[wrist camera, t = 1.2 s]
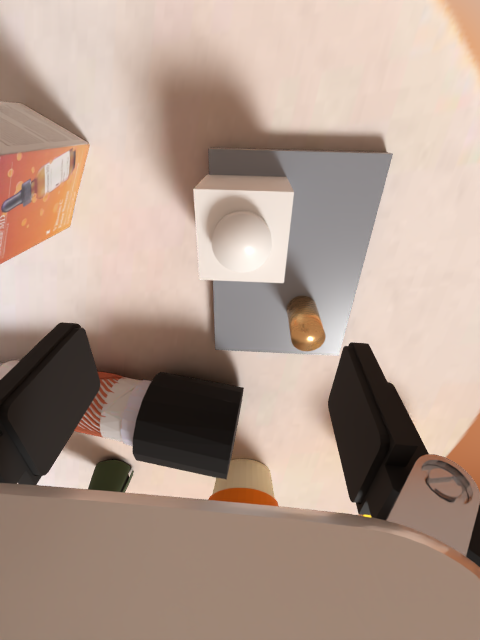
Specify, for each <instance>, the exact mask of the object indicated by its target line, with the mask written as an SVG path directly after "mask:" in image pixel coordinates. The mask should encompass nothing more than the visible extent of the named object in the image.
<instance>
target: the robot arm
mask: <svg viewBox="0 0 480 640" xmlns="http://www.w3.org/2000/svg"><path fill="white" fill-rule="evenodd" d="M99 389H100V379H99V375H98V372H97V369H96V365H95V362H94V358H93V355H92V352H91V348H90V345H89V342H88V338H87V335H86V332H85V330H84V328H81V326H80V325H79V324H75V323H59V324H58V325H57V326H56V327H55V328H54V329H53V330H52V331H51V332H50V333H48V334H47V335H46V336H45V337H44V338H43V339H42V340H41V341H40V342H39V343H38V344H37V345H36V346H35V347H34V348H33V349H32V350H31V351H30V352H29V353H28V354H27V355H26V356H25V357H24V358H22V359H21V360H20V361H19V362H18V363H17V364H16V365H15V366H14V367H13V368H12V369H11V370H10V371H9V372H8V373H7V374H6V375H5V376H4V377H3V378H2V379H1V380H0V640H480V493H479V490H478V487H477V485H476V483H475V482H474V480H473V479H472V477H471V476H470V475H469V474H468V473H467V472H466V471H465V470H464V469H463V468H462V467H460V466H459V465H457V464H456V463H455V462H453V461H451V460H449V459H447V458H445V457H442V456H438V455H435V454H428V452H427V450H426V448H425V446H424V444H423V442H422V440H421V438H420V436H419V434H418V432H417V430H416V428H415V426H414V424H413V422H412V420H411V418H410V416H409V414H408V412H407V410H406V408H405V406H404V404H403V402H402V400H401V398H400V397H399V395H398V393H397V391H396V389H395V387H394V386H393V384H391V383H388V382H387V381H386V379H385V376H384V374H383V372H382V370H381V368H380V366H379V364H378V362H377V360H376V358H375V356H374V354H373V352H372V350H371V348H370V346H369V344H366V343H350V344H349V346H345V347H344V348H343V351H342V354H341V358H340V361H339V365H338V368H337V372H336V375H335V379H334V382H333V386H332V389H331V393H330V396H329V401H328V407H329V412H330V416H331V421H332V425H333V429H334V434H335V438H336V442H337V446H338V451H339V455H340V459H341V463H342V468H343V472H344V476H345V481H346V485H347V489H348V493H349V497H350V500H351V501H352V502H356V505H357V509H358V513H359V514H363V515H371V517H364V516H358V515H352V514H345V513H336V512H327V511H318V510H309V509H300V508H290V507H279V506H269V505H258V504H247V503H236V502H226V501H215V500H204V499H192V498H181V497H170V496H158V495H147V494H135V493H124V492H112V491H100V490H88V489H76V488H64V487H52V486H39V485H36V484H37V483H38V481H39V480H40V478H41V476H42V475H46V474H47V473H48V472H49V470H50V469H51V467H52V465H53V464H54V462H55V461H56V459H57V457H58V456H59V454H60V453H61V451H62V449H63V448H64V446H65V445H66V443H67V441H68V440H69V438H70V437H71V435H72V433H73V432H74V430H75V428H76V427H77V425H78V424H79V422H80V420H81V419H82V417H83V416H84V414H85V412H86V411H87V409H88V408H89V406H90V404H91V403H92V401H93V400H94V398H95V396H96V395H97V393H98V391H99ZM17 482H18V484H17Z"/></svg>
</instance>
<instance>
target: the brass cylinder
mask: <svg viewBox="0 0 480 640" xmlns="http://www.w3.org/2000/svg"><path fill="white" fill-rule="evenodd" d="M287 316H288V322H289V329H290V336H291V342H292V344H293V346H294V347H295V348H297V349H298V350H301V351H313V350H316V349H318V348H319V347H321V346H322V344H323V343H324V341H325V338H326V335H325V332H324V328H323V325H322V322H321V319H320V316H319V312H318V309H317V306H316V303H315V301H314V300H313V299H312V298H310V297H308V296H297V297H295V298H293V299H292V300H291V301H290V302H289V303H288V305H287Z"/></svg>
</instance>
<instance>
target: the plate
mask: <svg viewBox="0 0 480 640" xmlns="http://www.w3.org/2000/svg"><path fill="white" fill-rule="evenodd" d="M208 153H209V175H239V176H273V177H287V179H288V181H289V183H290V185H291V187H292V189H293V191H294V197H293V206H292V215H291V224H290V233H289V242H288V251H287V260H286V268H285V277H284V283H267V282H242V281H217V280H213V296H214V324H215V350H231V351H252V352H273V353H294V354H315V355H336V356H339V353H340V349H341V346H342V342H343V338H344V334H345V331H346V327H347V323H348V319H349V316H350V312H351V308H352V304H353V301H354V297H355V293H356V289H357V286H358V282H359V278H360V275H361V271H362V267H363V263H364V260H365V256H366V252H367V248H368V245H369V241H370V237H371V233H372V230H373V226H374V222H375V218H376V215H377V211H378V207H379V203H380V200H381V196H382V192H383V188H384V185H385V181H386V177H387V173H388V170H389V166H390V162H391V158H392V155H393V154H392V153H388V152H357V151H319V150H280V149H241V148H209V149H208ZM297 296H308V297H310V298H312V299H313V300H314V301H315V303H316V306H317V309H318V312H319V316H320V319H321V322H322V325H323V328H324V332H325V335H326V338H325V341H324V343H323V344H322V346H321V347H319V348H318V349H316V350H313V351H301V350H298V349H297V348H295V347H294V346H293V344H292V342H291V336H290V329H289V322H288V316H287V305H288V303H289V302H290V301H291V300H292V299H293V298H295V297H297Z"/></svg>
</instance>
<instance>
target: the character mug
mask: <svg viewBox="0 0 480 640" xmlns="http://www.w3.org/2000/svg"><path fill="white" fill-rule="evenodd" d="M130 468H131V467H130V466H129V465H128V464H126V463H125V462H122V461H118V460H107V461H102V462H99V463H98V464H97V465H96V467H95V470H94V473H93V475H92V478H91V482H90V485H89V488H88V490H100V491H112V492H124V493H125V491H126V489H127V487H128V485H129V483H130V480H131V478H132V476H133V472H134V471H132V473H131V475H130V477H129V474H128V473H129V470H130Z"/></svg>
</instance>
